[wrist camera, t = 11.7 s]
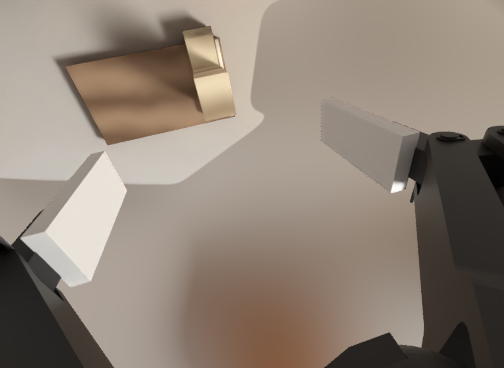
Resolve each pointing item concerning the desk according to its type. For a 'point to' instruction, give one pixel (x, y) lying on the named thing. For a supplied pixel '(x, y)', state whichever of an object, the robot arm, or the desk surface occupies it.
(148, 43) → the desk surface
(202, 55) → the bracket
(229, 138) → the desk surface
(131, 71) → the board
